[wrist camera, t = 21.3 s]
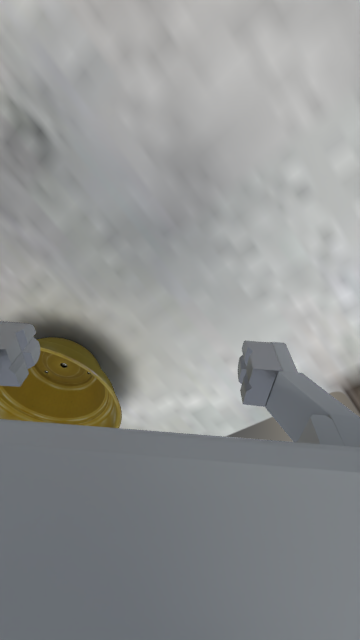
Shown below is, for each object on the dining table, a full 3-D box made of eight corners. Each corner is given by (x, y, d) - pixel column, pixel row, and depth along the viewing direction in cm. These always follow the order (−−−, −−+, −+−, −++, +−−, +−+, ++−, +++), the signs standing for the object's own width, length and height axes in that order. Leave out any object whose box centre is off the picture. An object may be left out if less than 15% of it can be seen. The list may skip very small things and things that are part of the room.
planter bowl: (141, 320, 58) (128, 365, 47) (126, 414, 76) (115, 463, 65) (-18, 289, 56) (-71, 328, 45) (6, 394, 74) (-28, 441, 63)
